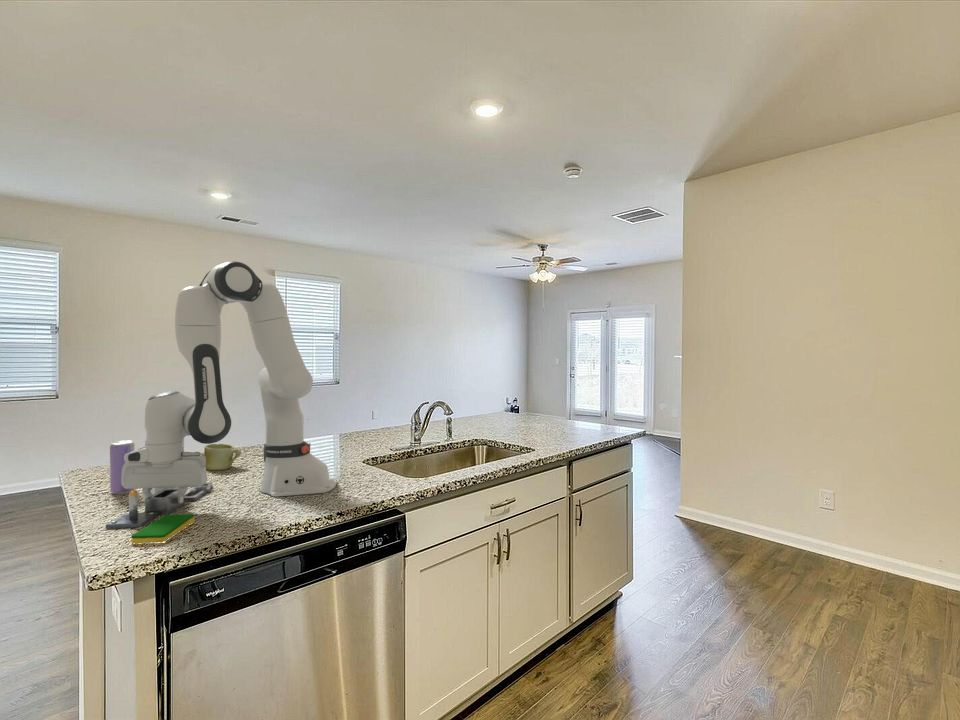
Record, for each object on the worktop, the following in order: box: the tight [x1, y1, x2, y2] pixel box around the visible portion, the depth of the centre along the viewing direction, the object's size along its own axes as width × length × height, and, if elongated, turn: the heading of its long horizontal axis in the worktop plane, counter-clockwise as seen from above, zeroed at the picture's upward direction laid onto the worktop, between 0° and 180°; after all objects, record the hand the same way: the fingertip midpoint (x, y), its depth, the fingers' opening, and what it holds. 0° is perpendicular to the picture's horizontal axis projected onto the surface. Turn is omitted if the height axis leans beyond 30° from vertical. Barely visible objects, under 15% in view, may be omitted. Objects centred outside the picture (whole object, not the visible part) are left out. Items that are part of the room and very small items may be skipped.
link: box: [144, 489, 185, 516], centre depth 130 cm, size 5×9×4 cm, turn 7°
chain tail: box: [184, 482, 213, 502], centre depth 145 cm, size 7×16×2 cm, turn 7°
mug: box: [203, 443, 242, 471], centre depth 174 cm, size 12×10×10 cm
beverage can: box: [109, 440, 136, 495], centre depth 146 cm, size 6×6×15 cm
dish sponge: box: [131, 513, 195, 543], centre depth 115 cm, size 7×14×2 cm, turn 5°
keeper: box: [105, 490, 160, 529], centre depth 121 cm, size 8×8×8 cm
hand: (165, 503), depth 130 cm, fingers closed on link, 5 cm apart
